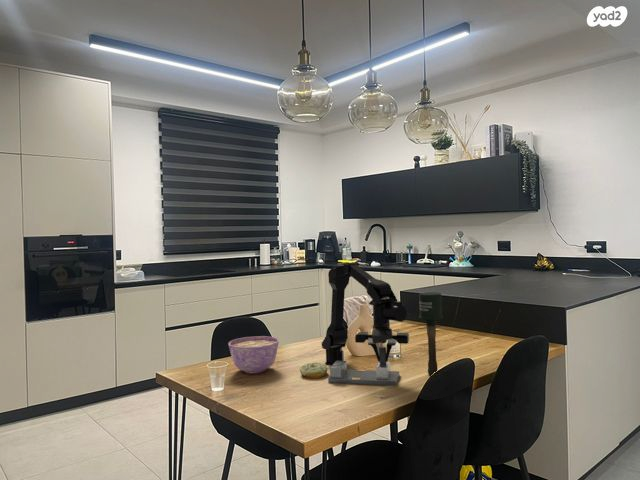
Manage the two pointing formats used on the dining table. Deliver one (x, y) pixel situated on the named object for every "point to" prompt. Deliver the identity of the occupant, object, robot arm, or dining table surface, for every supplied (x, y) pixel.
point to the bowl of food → (254, 353)
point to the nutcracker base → (359, 376)
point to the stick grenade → (431, 323)
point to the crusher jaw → (382, 365)
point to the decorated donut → (313, 370)
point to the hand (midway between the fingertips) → (383, 361)
